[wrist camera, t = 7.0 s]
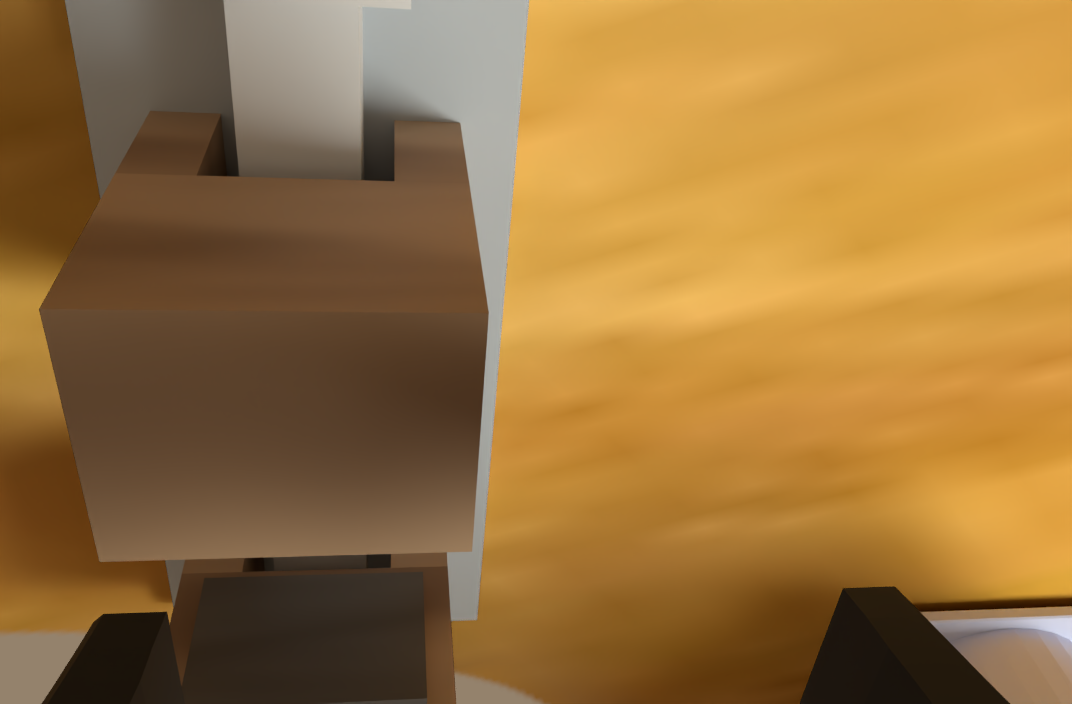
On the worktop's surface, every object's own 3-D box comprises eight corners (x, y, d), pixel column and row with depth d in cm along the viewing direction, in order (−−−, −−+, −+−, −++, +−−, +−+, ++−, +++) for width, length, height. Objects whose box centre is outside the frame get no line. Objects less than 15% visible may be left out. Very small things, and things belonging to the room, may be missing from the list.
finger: (200, 475, 20) (138, 734, 15) (443, 472, 21) (458, 717, 16) (220, 614, 22) (172, 876, 18) (436, 607, 23) (448, 855, 18)
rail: (474, 594, 24) (485, 712, 21) (183, 604, 23) (155, 729, 20) (530, -96, 15) (560, -46, 12) (58, -132, 14) (-22, -85, 11)
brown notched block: (450, 334, 19) (471, 566, 14) (181, 333, 18) (103, 577, 13) (459, 122, 16) (488, 314, 11) (149, 111, 16) (39, 308, 11)
